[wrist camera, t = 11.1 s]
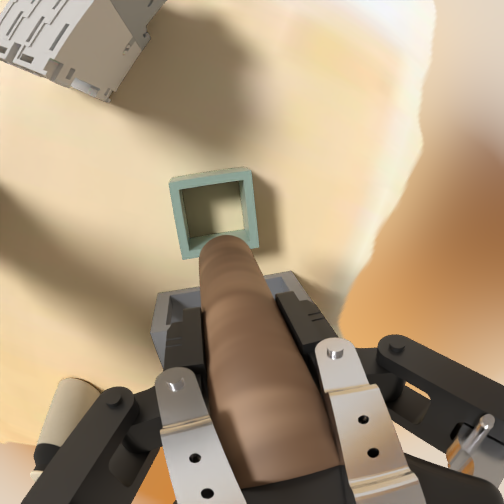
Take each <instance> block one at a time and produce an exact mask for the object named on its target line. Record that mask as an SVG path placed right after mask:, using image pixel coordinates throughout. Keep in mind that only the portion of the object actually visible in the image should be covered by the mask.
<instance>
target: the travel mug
mask: <svg viewBox="0 0 504 504" xmlns="http://www.w3.org/2000/svg"><path fill="white" fill-rule="evenodd" d="M99 395H100V393H99V391H98V390H97V389H96V388H94V387H93V386H92V385H90V384H88V383H87V382H84V381H82V380H79V379H75V378H66V379H63V380H62V381H60V383H59V385H58V387H57V390H56V392H55V395H54V397H53V400H52V403H51V405H50V408H49V411H48V413H47V416H46V419H45V422H44V425H43V427H42V430H41V433H40V436H39V439H38V443H37V446H36V449H35V452H34V460H35V463H36V467H35V469H34V471H32V472H31V474H30V476H31V478H32V479H33V480H34V481H35V482H36V481H37V479H38V478H39V477H40V475H41V474H42V472H43V471H44V470H45V468H46V467H47V465H48V464H49V463H50V461H51V460H52V458H53V457H54V456H55V454H56V453H57V451H58V450H59V449H60V447H61V446H62V445H63V443H64V442H65V441H66V439H67V438H68V437H69V435H70V434H71V432H72V431H73V430H74V428H75V427H76V426H77V424H78V423H79V422H80V420H81V419H82V418H83V416H84V415H85V414H86V412H87V411H88V410H89V408H90V407H91V406H92V405H93V403H94V402H95V401H96V399H97V398H98V397H99Z"/></svg>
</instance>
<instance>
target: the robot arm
mask: <svg viewBox="0 0 504 504" xmlns="http://www.w3.org/2000/svg"><path fill="white" fill-rule="evenodd" d="M275 301H276V304H277V306H278V308H279V310H280V312H281V314H282V316H283V318H284V320H285V322H286V324H287V326H288V328H289V330H290V333H291V335H292V337H293V339H294V341H295V343H296V345H297V347H298V349H299V351H300V353H301V355H302V357H303V359H304V362H305V364H306V366H307V368H308V370H309V372H310V374H311V376H312V378H313V380H314V382H315V384H316V386H317V388H318V391H319V393H320V395H321V397H322V399H323V403H324V406H325V409H326V412H327V415H328V419H329V422H330V426H331V429H332V431H333V434H334V438H335V443H336V448H337V453H338V457H339V461H340V465H338V466H335V467H331V468H328V469H325V470H322V471H318V472H315V473H312V474H308V475H304V476H300V477H297V478H293V479H289V480H284V481H280V482H275V483H271V484H266V485H261V486H255V487H249V488H243V489H240V488H239V486H238V483H237V481H236V479H235V477H234V474H233V472H232V470H231V467H230V465H229V463H228V460H227V458H226V456H225V453H224V451H223V448H222V446H221V443H220V441H219V438H218V436H217V433H216V431H215V428H214V426H213V423H212V420H211V417H210V408H209V399H208V389H207V369H206V358H205V346H204V333H203V319H202V311H201V307H195V308H188V309H183V319H182V322H175V323H172V324H171V326H170V327H169V329H168V330H167V335H166V348H165V357H164V369H163V372H162V373H161V374H160V375H159V376H158V377H157V378H156V381H155V386H153V387H152V388H150V389H148V390H145V391H142V392H139V393H136V394H133V393H132V392H131V391H130V390H129V389H127V388H125V387H112V388H109V389H107V390H105V391H104V392H103V393H101V394H100V395H99V397H98V398H97V399H96V401H95V402H94V403H93V405H92V406H91V407H90V408H89V410H88V411H87V412H86V414H85V415H84V416H83V418H82V419H81V420H80V422H79V423H78V424H77V426H76V427H75V428H74V430H73V431H72V432H71V434H70V435H69V437H68V438H67V439H66V441H65V442H64V443H63V445H62V446H61V447H60V449H59V450H58V451H57V453H56V454H55V456H54V457H53V458H52V460H51V461H50V463H49V464H48V465H47V467H46V468H45V470H44V471H43V472H42V474H41V475H40V477H39V478H38V479H37V481H36V482H35V484H34V485H33V486H32V488H31V490H30V491H29V492H28V494H27V495H26V497H25V498H24V499H23V501H22V503H21V504H131V503H132V501H133V499H134V497H135V495H136V493H137V492H138V489H139V488H140V486H141V484H142V482H143V480H144V478H145V476H146V474H147V473H148V471H149V469H150V467H151V465H152V463H153V461H154V459H155V457H156V456H157V454H158V452H159V449H160V447H162V446H163V449H164V454H165V458H166V462H167V466H168V470H169V474H170V478H171V482H172V486H173V489H174V492H175V496H176V500H175V502H174V503H173V504H504V501H503V498H502V495H501V493H500V491H499V490H498V487H499V485H500V484H501V482H502V480H503V478H504V386H503V385H501V384H499V383H497V382H495V381H493V380H491V379H489V378H487V377H485V376H483V375H481V374H479V373H477V372H475V371H473V370H471V369H469V368H467V367H465V366H463V365H461V364H459V363H457V362H455V361H453V360H451V359H449V358H447V357H445V356H443V355H441V354H439V353H437V352H435V351H433V350H431V349H429V348H427V347H425V346H423V345H421V344H419V343H417V342H415V341H413V340H411V339H409V338H407V337H405V336H402V335H388V336H385V337H384V338H382V339H381V340H380V341H379V343H378V347H377V348H355V347H354V345H353V344H352V343H351V342H350V341H348V340H346V339H343V338H339V337H338V336H337V335H336V333H335V332H334V330H333V329H332V327H331V326H330V324H329V323H328V322H327V320H326V319H325V317H324V316H323V314H322V313H321V311H320V310H319V309H318V307H317V306H316V305H315V304H314V303H312V302H310V301H309V300H302V301H299V299H298V298H297V296H296V295H295V293H294V291H288V292H283V293H277V294H275ZM406 382H408V383H410V384H412V385H414V386H415V387H417V388H419V389H420V390H422V391H424V392H426V393H427V394H428V395H429V397H430V399H431V400H429V399H428V398H426V397H424V396H422V395H421V394H419V393H417V392H415V391H414V390H412V389H410V388H409V387H407V386H405V383H406ZM392 420H393V421H394V422H396V423H397V424H399V425H400V426H402V427H403V428H405V429H406V430H408V431H410V432H411V433H413V434H414V435H416V436H417V437H419V438H421V439H422V440H424V441H425V442H427V443H429V444H430V445H432V446H434V447H435V448H437V449H438V450H440V451H442V452H443V453H445V454H446V458H447V461H448V468H445V467H443V466H440V465H437V464H434V463H431V462H428V461H425V460H422V459H420V458H417V457H414V456H411V455H409V454H406V453H404V452H403V450H402V447H401V444H400V442H399V439H398V436H397V433H396V431H395V428H394V425H393V423H392Z"/></svg>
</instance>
